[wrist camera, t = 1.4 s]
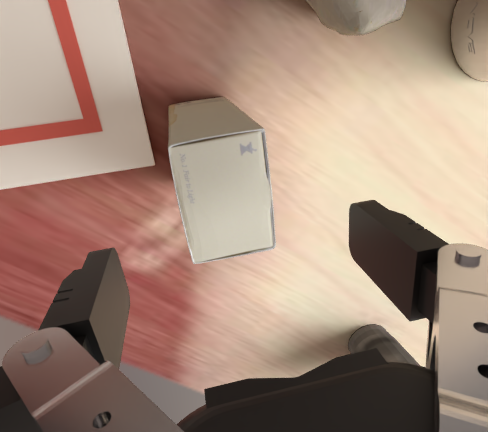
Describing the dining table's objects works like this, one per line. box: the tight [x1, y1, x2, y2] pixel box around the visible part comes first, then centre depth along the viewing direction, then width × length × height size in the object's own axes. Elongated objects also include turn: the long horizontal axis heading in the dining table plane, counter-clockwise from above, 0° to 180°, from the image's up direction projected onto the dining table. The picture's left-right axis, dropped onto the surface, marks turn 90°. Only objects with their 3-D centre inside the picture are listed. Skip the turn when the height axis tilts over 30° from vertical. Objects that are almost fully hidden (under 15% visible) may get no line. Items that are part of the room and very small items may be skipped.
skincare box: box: [168, 97, 276, 264], centre depth 21 cm, size 6×4×12 cm
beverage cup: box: [348, 324, 420, 366], centre depth 30 cm, size 7×7×20 cm
